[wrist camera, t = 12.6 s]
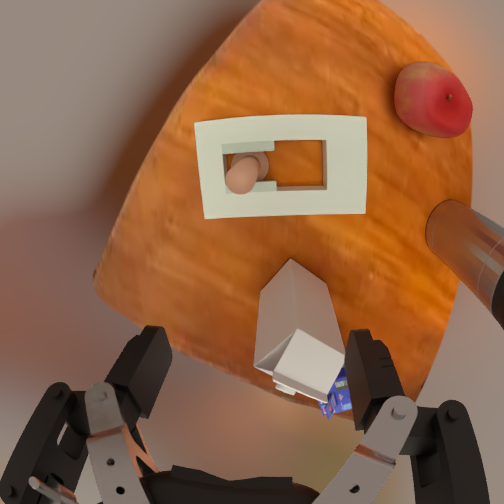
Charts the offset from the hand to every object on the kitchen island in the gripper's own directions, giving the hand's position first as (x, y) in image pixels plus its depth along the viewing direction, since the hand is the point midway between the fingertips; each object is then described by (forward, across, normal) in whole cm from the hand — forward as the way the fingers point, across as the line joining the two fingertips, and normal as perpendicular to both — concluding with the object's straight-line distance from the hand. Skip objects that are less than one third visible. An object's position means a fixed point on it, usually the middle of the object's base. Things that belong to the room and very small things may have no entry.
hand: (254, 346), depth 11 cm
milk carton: (+26, -3, +13) cm, 30 cm away
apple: (+26, -20, -14) cm, 36 cm away
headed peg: (+26, +2, -4) cm, 26 cm away
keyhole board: (+26, -2, -5) cm, 26 cm away
